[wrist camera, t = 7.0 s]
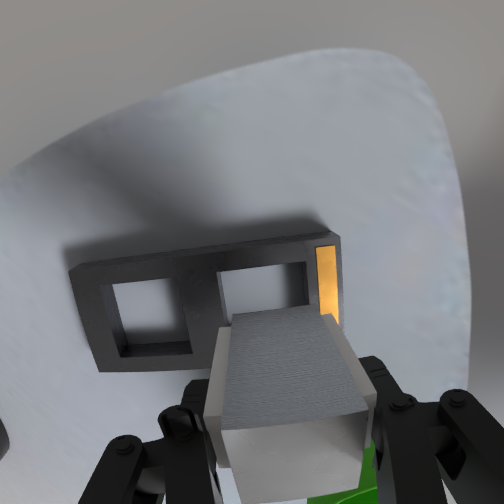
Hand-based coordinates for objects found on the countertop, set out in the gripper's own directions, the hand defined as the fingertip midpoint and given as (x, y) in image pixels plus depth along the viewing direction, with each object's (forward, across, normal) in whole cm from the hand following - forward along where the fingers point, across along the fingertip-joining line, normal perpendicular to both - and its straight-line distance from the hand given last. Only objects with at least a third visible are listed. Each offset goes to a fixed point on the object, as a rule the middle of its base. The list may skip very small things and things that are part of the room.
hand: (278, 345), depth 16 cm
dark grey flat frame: (+7, -4, 0) cm, 8 cm away
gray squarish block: (0, 0, 0) cm, 0 cm away
